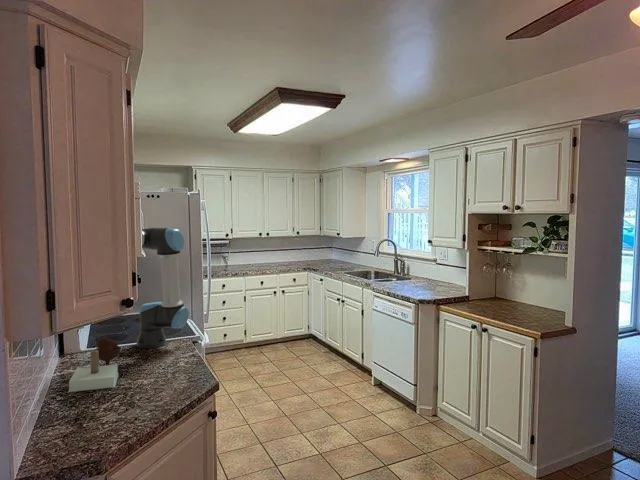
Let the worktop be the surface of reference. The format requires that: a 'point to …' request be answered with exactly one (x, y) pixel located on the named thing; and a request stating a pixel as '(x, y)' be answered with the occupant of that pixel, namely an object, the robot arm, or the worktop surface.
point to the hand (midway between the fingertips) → (93, 315)
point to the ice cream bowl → (107, 349)
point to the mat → (99, 388)
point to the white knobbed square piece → (93, 375)
